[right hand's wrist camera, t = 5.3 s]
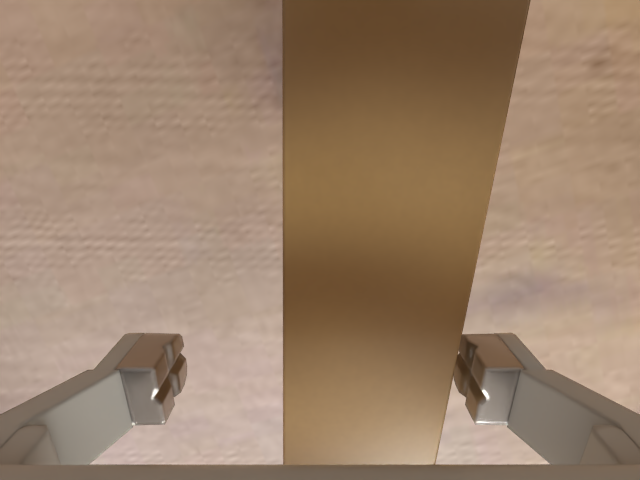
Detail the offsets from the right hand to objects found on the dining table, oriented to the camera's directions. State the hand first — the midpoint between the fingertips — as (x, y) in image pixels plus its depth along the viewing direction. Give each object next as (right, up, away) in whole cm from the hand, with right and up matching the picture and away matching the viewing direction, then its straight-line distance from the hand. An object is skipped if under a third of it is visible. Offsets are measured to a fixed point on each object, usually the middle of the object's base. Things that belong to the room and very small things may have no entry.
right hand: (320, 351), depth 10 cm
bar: (+2, +9, +5) cm, 11 cm away
